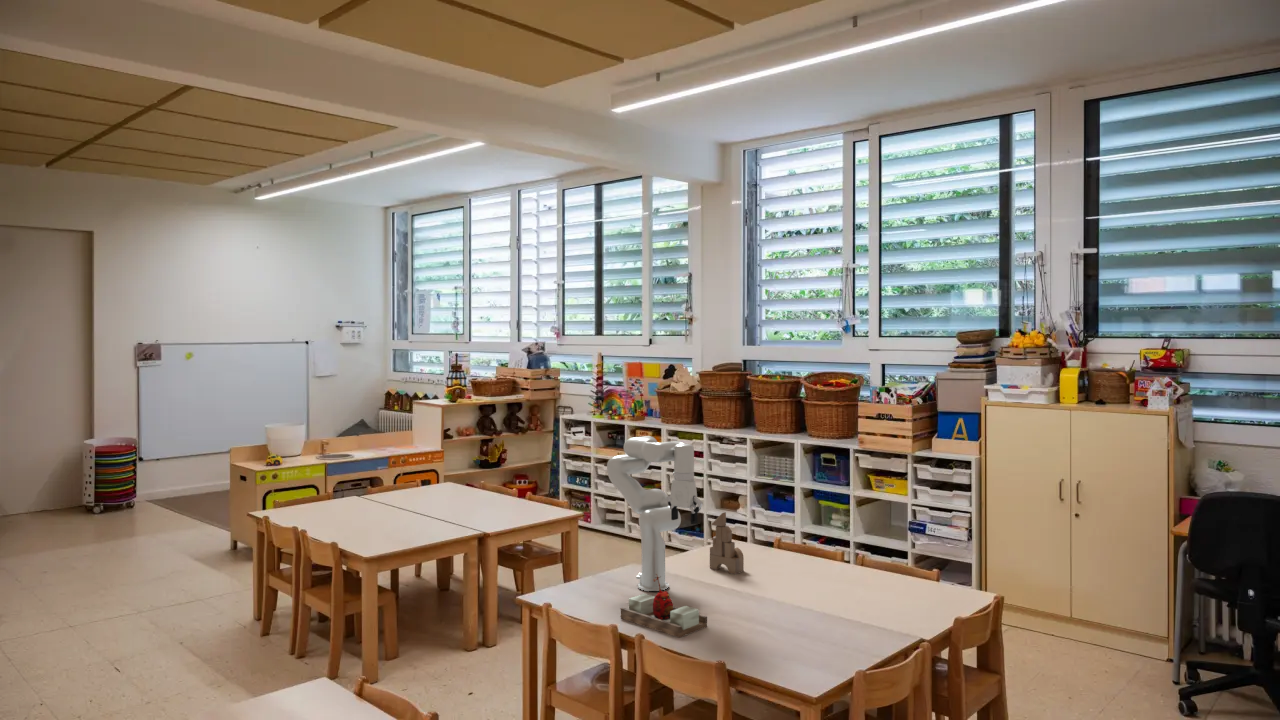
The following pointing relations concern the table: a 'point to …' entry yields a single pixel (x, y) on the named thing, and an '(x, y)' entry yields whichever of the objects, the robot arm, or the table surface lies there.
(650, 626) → the display tray
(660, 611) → the red clay folk toy
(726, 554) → the wooden toy
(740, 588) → the table surface
